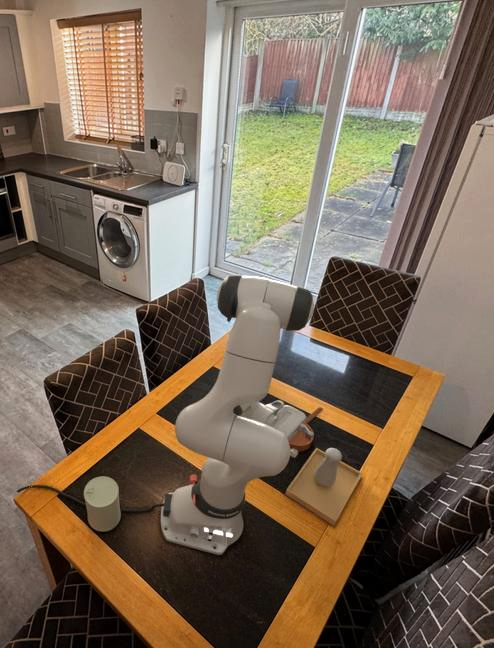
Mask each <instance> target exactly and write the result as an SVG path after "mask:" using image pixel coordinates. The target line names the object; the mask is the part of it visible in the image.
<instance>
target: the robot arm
mask: <svg viewBox="0 0 494 648" xmlns="http://www.w3.org/2000/svg"><path fill="white" fill-rule="evenodd" d="M313 298H314V296H313V294H312V293H311V290H309V289H308V288H305V287H303V286H301V285H296V286H295V285H292V284H290V283H285V282H283V281H278V280H274V279H270V278H267V277H262V276H261V277H260V276H251V275H243V274H238V273H237V274H235V273H234V274H228V275H227V276H226V277H224V278H223V279H222V282H221V283H220V285H219V287H218V289H217V292H216V303H217V309H218V311H219V312H220V315H222V316H224V317H225V318H226V321H227V322H228V323H231V321H232V319H235V320H234V323H233V325H232V328H231V330H230V333H229V336H228V339H227V342H226V346H225V350H224V355H223V358H222V363H221V366H220V369H219V372H218V375H217V378H216V381H215V383H214V385H213V387H212V388H211V389H210V391H209V392H208V393H207V394H206V395H205V396H204V397H203V398H201V399H200V400H198V401H197V402H194V403H192V404H189V405H188V406H186V407H184V408H183V409H182V410H181V411H180V412H179V414H178V415H177V418H176V420H175V424H174V433H175V438H176V440H177V442H178V444H180V445H181V446H183V447H185V448H186V449H188V450H190V451H192V452H193V453H195V454H198V455H200V456H203V457H206V460H205V461H204V463H203V464H202V467H201V474H200V475H201V476H200V479H199V480H198V475H196V474H195V473H193V474H191V475H189V485H184V486H181V487H177V489H175V491H174V492H173V491H172V492H168V493H165V495H164V498H163V500H162V503H155V504H153V505H152V506H151V507H149V508H143V509H142V508H141V509H132V508H120V511H121V513H122V512H125V513H147V512H152V511H154V510H155V508H160V507H161V508H160V529H161V533H162V535H163V537H164V539H165V541H167V542H169V543H172V544H177V545H180V546H184V547H187V548H191V549H194V550H198V551H202V552H206V553H209V554H213V555H217V556H223V554H224V553H225V552H226V550H227V548H228V547H229V546H231V545H233V544H234V543H235V542H236V541H238V539H239V538H240V537H241V535H242V533H243V531H244V518H243V515H242V513H243V512H242V511H243V509H244V506H245V503H246V489H247V486H248V484H249V483H250V482H252V481H254V480H256V479H259V478H263V477H275V476H278V474H280V473H281V472H282V471H284V469H286V467H287V465H288V464H289V461H290V458H293V459H295V458H297V456H298V455H299V452H298V451H297V450H295V449H294V448H293V449H292V450H291V449H290V445H289V442H288V441H289V440H290V439H291V438H292V437H293V436H294V435H295V434H296V432H297V431H298V430H299V431H301V432H302V431H303V432H304V433H305V434H306V436H305V437H306V438H308V439H310V440H311V439H312V438H313V436H315V433H314V431H313V432H311V431H309V429H308V428H307V426H306V425H305V421H306V418H307V415H306V414H305V412H303V411H301V410H299V409H297V408H295V407H293V406H291V405H288V404H285V403H284V402H283V400H280V399H279V400H275V401H273V402H270V403H267V404H264V403H262V402H261V401H262V400H264V398H265V397H267V395H268V393H269V392H270V391H269V390H270V386H271V383H272V379H273V375H274V370H275V368H276V367H275V366H276V362H277V358H278V352H279V348H280V339H281V330H285V331H288V332H297V331H298V332H299V331H301V330H303V329H304V328H305V327H306V326H307V324H308V323H310V320H311V319H312V317H313V314H314V309H315V304H314V303H315V302H314V299H313ZM313 439H314V438H313ZM32 485H33V486H32ZM31 486H32V487H31ZM29 487H30V488H29ZM34 488H37V489H40V488H41V489H48V490H51V491H53V492H55V493H58V494H59V495H61V496H63V497H66V498H67V499H69V500H72V501H74V502H76V503H78V504H79V505H82V506H84V507H86V502H85V501H84V502H83V501H82V500H80V499H78V498H76V497H74V496H72V495H70V494H67V493H65V492H63V491H61V490H59V489H57V488H55V487H53V486H49V485H43V484H31V485H30V484H29V485H26V486H23V487H21V488H19V489H17V491H16V493H21V492H22V491H25V490H28V489H34Z"/></svg>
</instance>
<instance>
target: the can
mask: <svg viewBox="0 0 494 648" xmlns="http://www.w3.org/2000/svg"><path fill="white" fill-rule="evenodd" d="M119 488H120V487H119V485H118V483H117V482H116V481H115V480H114V479H113V478H111V477H109V476H106V475H105V476H98V477H94V478H92V479H91V480H89V481H88V482H87V484H86V485H85V487H84V489H83V498H84V503H86V506H85V508H86V513H87V514H86V515H87V522H88V524H89V526H90V527H91V528H92V529H93V530H95V531H97V532H109V531H111V530H113V529H115V528H116V527H117V526H118V524H119V523H120V521H121V518H122V517H121V516H122V512H121V511H120V509H121V507H120V506H121V505H120V495H119V494H120V493H119V491H120V490H119Z"/></svg>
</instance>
